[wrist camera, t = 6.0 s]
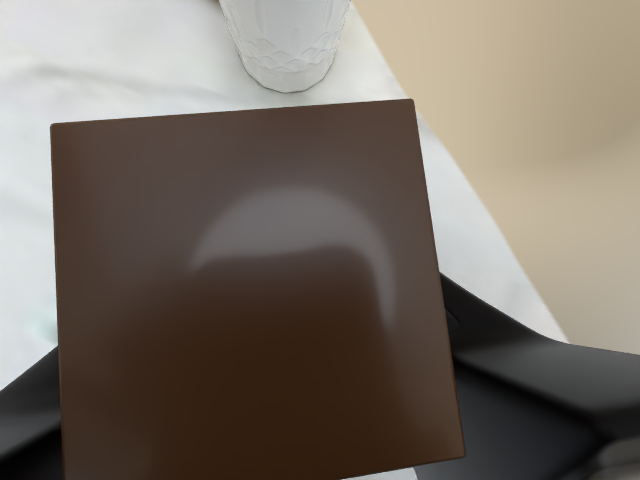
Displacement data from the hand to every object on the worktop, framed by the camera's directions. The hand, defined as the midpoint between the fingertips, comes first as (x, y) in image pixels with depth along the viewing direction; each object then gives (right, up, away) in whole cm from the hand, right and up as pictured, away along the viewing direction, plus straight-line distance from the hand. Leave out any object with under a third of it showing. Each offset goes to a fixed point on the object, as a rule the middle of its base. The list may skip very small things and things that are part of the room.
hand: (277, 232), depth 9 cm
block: (0, -2, +7) cm, 7 cm away
